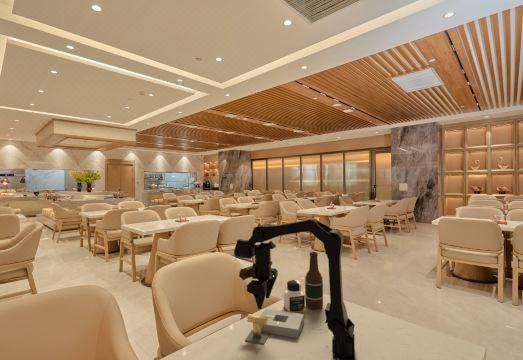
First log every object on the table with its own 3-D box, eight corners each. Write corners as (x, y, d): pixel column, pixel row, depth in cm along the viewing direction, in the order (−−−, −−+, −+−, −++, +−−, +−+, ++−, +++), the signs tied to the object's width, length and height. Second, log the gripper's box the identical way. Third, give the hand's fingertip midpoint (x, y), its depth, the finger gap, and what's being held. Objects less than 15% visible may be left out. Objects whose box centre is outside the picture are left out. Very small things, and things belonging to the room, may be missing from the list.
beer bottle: (323, 311, 120) (322, 255, 120) (304, 309, 121) (304, 254, 121) (322, 303, 127) (322, 250, 128) (305, 301, 129) (305, 250, 129)
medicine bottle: (289, 313, 118) (289, 285, 118) (283, 306, 125) (283, 279, 125) (305, 311, 120) (304, 283, 120) (298, 304, 127) (298, 277, 127)
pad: (269, 333, 102) (269, 332, 102) (263, 344, 96) (263, 343, 96) (251, 330, 104) (251, 329, 104) (244, 341, 98) (244, 339, 98)
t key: (250, 332, 103) (249, 312, 103) (268, 335, 100) (268, 315, 100) (246, 337, 100) (246, 316, 100) (265, 340, 97) (265, 319, 97)
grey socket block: (303, 321, 111) (303, 313, 111) (298, 337, 99) (298, 329, 99) (265, 315, 116) (265, 308, 116) (256, 330, 104) (256, 322, 104)
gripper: (250, 252, 112) (251, 291, 112) (231, 265, 94) (232, 312, 94) (277, 253, 108) (278, 294, 108) (263, 268, 91) (264, 316, 91)
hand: (263, 303), depth 100 cm, fingers open, 9 cm apart
